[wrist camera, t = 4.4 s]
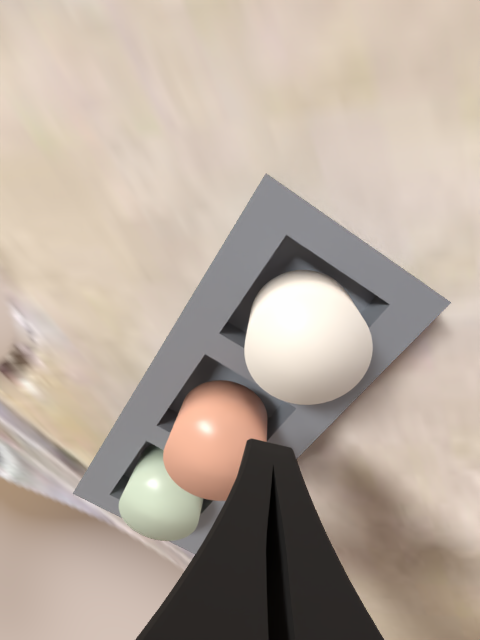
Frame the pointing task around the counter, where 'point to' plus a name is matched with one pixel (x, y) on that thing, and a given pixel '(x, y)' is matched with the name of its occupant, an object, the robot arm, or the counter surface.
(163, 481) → the button sage
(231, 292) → the grey slotted tray
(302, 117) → the counter surface
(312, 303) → the button cream
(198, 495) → the button terracotta
